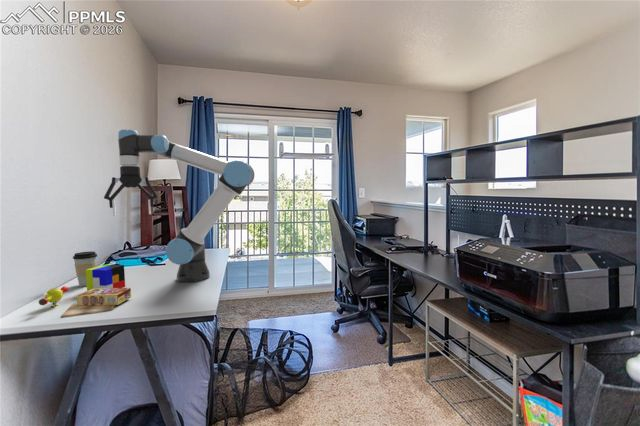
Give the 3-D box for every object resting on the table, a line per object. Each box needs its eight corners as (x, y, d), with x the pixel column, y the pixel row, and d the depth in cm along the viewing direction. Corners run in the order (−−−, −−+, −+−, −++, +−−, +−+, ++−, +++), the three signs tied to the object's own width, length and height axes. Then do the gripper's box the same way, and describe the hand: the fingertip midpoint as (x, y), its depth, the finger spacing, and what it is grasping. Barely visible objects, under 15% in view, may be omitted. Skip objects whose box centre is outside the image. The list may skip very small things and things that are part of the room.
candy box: (117, 293, 120) (75, 295, 120) (118, 305, 121) (76, 307, 120) (130, 286, 129) (91, 288, 129) (131, 297, 130) (92, 299, 129)
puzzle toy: (106, 293, 138) (105, 270, 137) (87, 292, 140) (85, 269, 139) (125, 286, 148) (124, 265, 147) (106, 285, 150) (105, 264, 149)
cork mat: (118, 299, 129) (118, 298, 129) (112, 310, 117) (112, 308, 117) (72, 305, 123) (72, 304, 123) (61, 317, 111) (61, 315, 111)
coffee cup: (73, 284, 153) (71, 253, 152) (97, 280, 159) (95, 250, 158) (75, 288, 146) (73, 255, 145) (100, 284, 152) (98, 252, 151)
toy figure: (57, 299, 130) (56, 283, 130) (73, 298, 132) (72, 281, 132) (31, 315, 113) (30, 296, 113) (50, 313, 115) (49, 294, 114)
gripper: (162, 167, 150) (164, 213, 152) (97, 166, 140) (100, 215, 141) (161, 166, 144) (163, 213, 145) (93, 165, 133) (97, 216, 135)
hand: (132, 214), depth 143 cm, fingers open, 13 cm apart
